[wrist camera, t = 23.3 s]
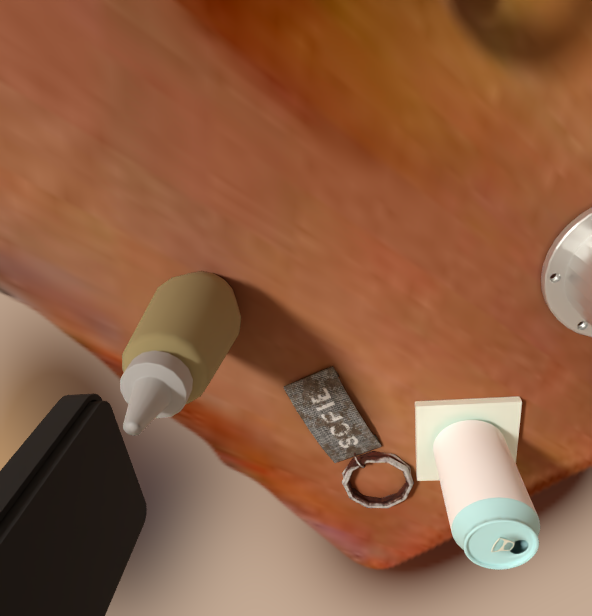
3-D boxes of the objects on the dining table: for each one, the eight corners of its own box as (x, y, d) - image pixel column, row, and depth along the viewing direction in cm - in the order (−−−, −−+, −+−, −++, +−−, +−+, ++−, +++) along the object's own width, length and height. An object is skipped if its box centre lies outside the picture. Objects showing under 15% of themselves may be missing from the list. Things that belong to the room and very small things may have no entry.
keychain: (346, 356, 48) (346, 368, 46) (423, 486, 54) (426, 500, 53) (278, 385, 50) (275, 397, 48) (360, 506, 57) (361, 520, 55)
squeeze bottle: (259, 277, 44) (213, 400, 28) (233, 347, 48) (180, 492, 32) (174, 245, 43) (77, 353, 27) (154, 319, 47) (58, 452, 31)
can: (491, 406, 47) (535, 506, 37) (511, 457, 50) (557, 565, 39) (422, 427, 49) (443, 528, 38) (444, 475, 52) (471, 583, 41)
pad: (519, 396, 47) (522, 401, 47) (511, 472, 52) (514, 478, 51) (414, 401, 49) (415, 406, 48) (416, 475, 53) (417, 480, 52)
